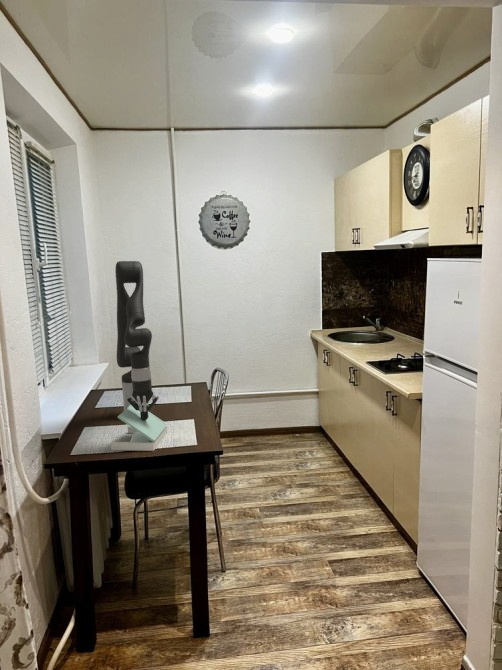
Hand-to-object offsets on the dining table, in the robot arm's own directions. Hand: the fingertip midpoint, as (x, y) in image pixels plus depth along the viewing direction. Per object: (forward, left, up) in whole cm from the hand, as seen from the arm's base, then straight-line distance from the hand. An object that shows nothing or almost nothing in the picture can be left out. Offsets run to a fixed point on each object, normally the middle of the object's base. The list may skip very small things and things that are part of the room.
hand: (144, 419), depth 196 cm
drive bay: (0, -2, -9) cm, 9 cm away
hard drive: (-2, -3, -10) cm, 10 cm away
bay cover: (0, -1, -1) cm, 1 cm away
